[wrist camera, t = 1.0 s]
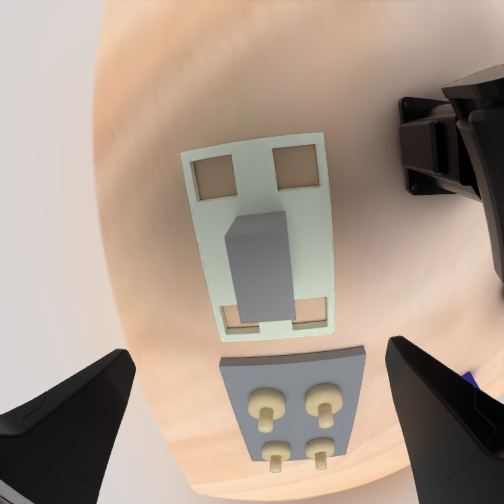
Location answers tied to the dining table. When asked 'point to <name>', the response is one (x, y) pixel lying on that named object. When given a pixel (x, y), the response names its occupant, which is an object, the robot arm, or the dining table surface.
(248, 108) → the dining table surface
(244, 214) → the board
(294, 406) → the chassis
